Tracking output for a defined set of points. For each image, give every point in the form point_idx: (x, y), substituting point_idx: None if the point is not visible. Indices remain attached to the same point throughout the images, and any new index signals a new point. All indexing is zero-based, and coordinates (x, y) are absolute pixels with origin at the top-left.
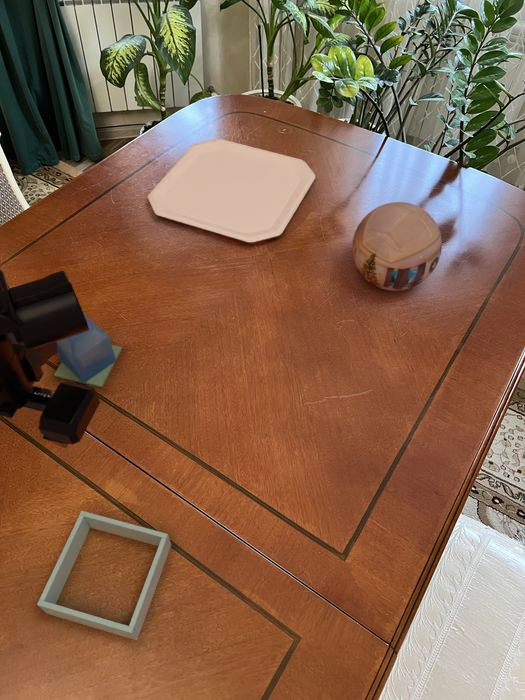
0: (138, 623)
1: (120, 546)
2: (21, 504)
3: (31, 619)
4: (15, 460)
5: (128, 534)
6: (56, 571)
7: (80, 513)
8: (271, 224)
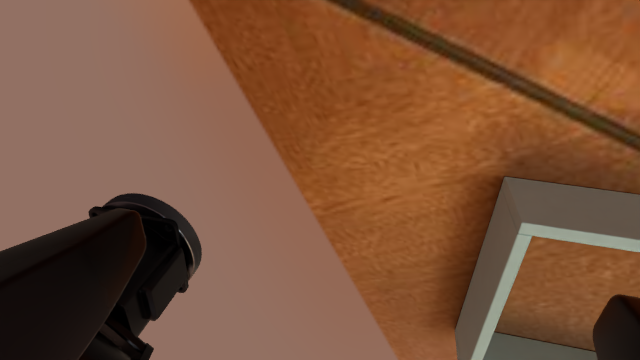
0: None
1: None
2: (315, 150)
3: (429, 336)
4: (237, 35)
5: None
6: (486, 343)
7: (520, 229)
8: None
